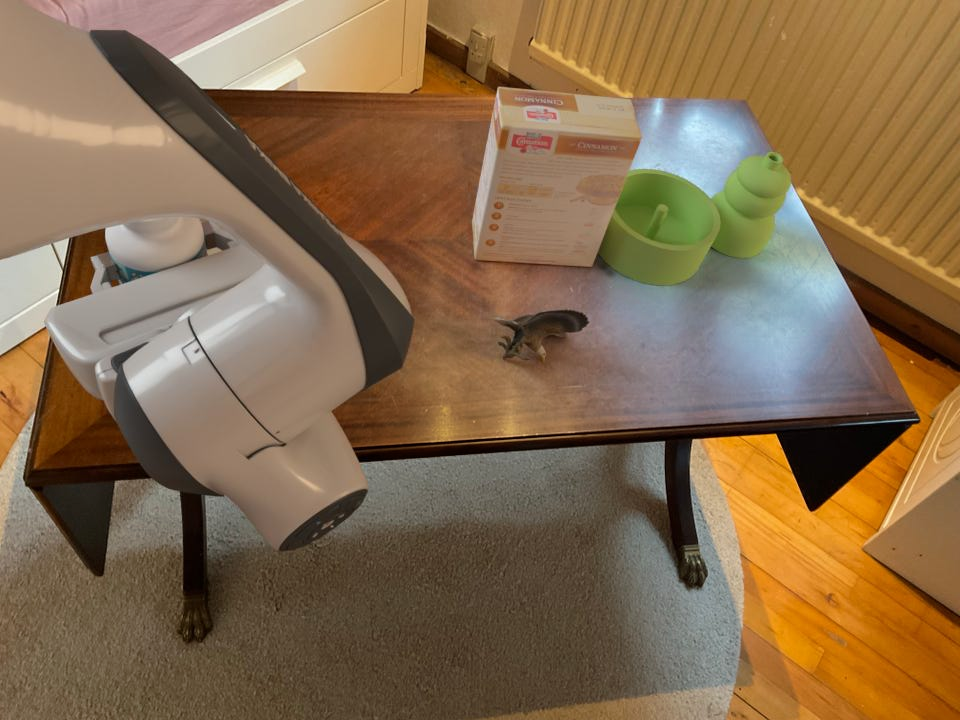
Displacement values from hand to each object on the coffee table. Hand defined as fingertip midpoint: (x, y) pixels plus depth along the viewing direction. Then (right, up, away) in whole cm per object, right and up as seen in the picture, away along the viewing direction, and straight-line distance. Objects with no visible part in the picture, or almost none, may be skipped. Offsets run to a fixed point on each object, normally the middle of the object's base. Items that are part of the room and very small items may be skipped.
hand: (154, 242), depth 62 cm
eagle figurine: (+33, -8, +21) cm, 40 cm away
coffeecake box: (+34, +4, +30) cm, 46 cm away
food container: (+54, +6, +35) cm, 65 cm away
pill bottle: (-1, -5, +6) cm, 8 cm away
